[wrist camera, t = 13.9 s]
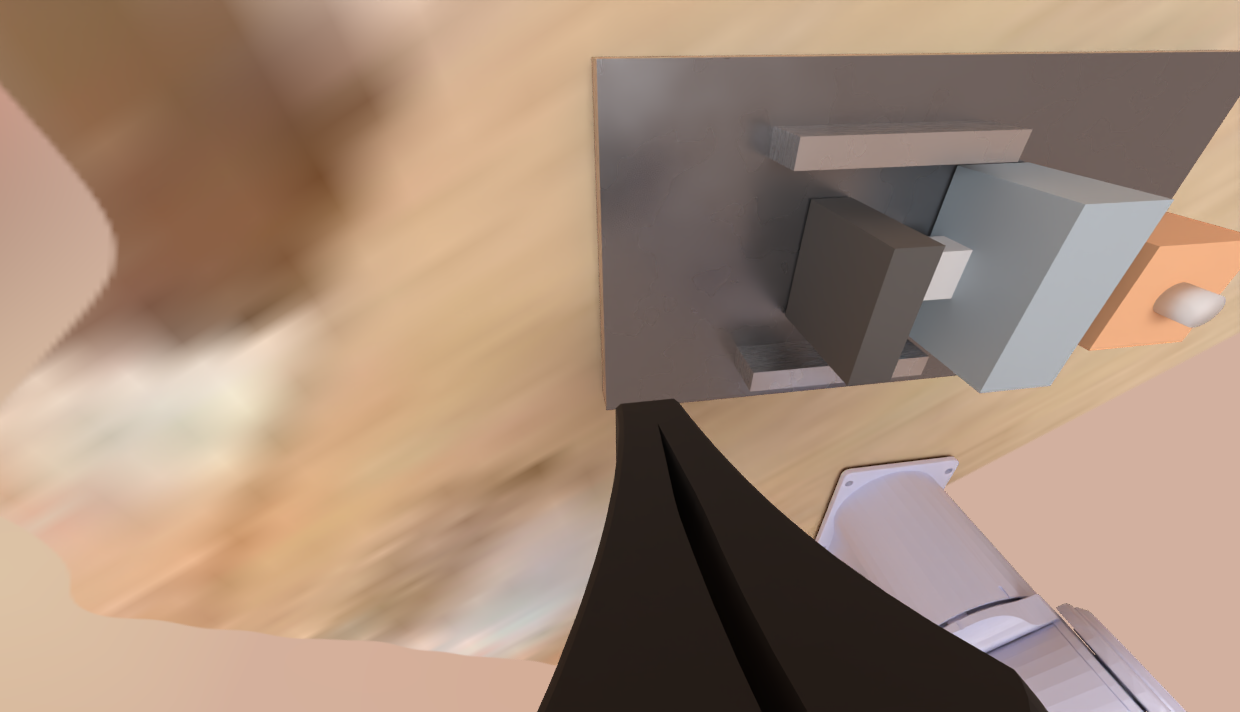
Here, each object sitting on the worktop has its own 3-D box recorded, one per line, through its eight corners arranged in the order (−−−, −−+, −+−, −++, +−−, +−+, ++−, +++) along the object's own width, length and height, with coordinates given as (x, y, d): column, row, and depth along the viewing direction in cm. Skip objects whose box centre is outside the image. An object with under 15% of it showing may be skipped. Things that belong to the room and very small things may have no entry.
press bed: (1037, 349, 26) (1098, 388, 23) (602, 390, 23) (612, 440, 20) (1219, 50, 18) (1348, 52, 15) (591, 57, 15) (604, 61, 12)
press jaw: (954, 320, 22) (1050, 385, 18) (780, 335, 21) (839, 407, 17) (1028, 162, 18) (1174, 199, 14) (817, 171, 17) (907, 214, 13)
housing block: (1060, 284, 22) (1212, 356, 17) (982, 290, 21) (1116, 366, 16) (1110, 196, 19) (1305, 250, 14) (1025, 201, 19) (1196, 258, 14)
